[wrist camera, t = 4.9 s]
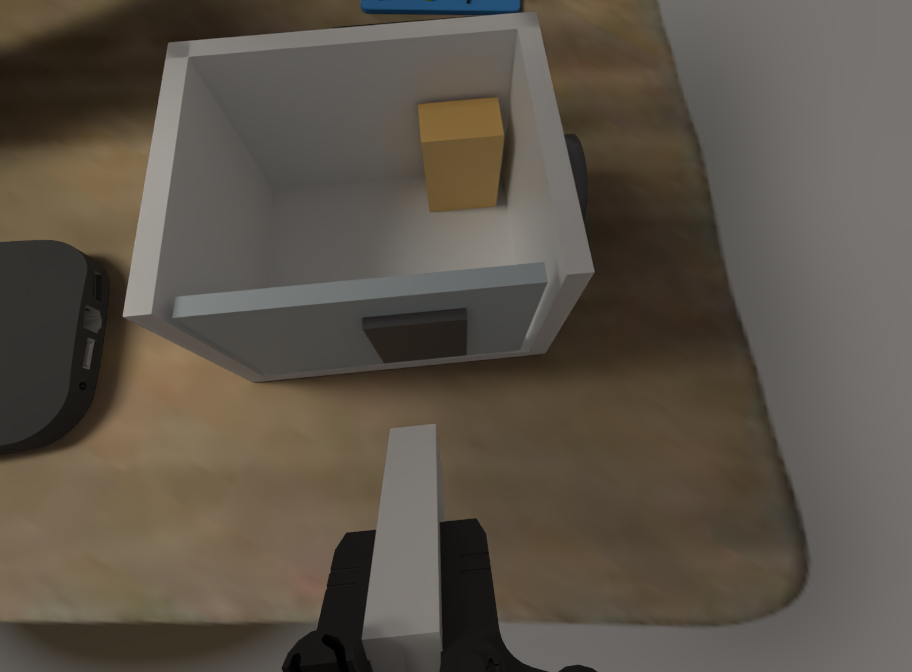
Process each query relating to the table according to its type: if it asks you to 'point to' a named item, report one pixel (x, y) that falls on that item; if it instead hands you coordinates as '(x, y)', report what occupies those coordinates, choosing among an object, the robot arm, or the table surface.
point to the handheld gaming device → (441, 7)
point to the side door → (371, 318)
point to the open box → (358, 170)
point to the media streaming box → (47, 339)
